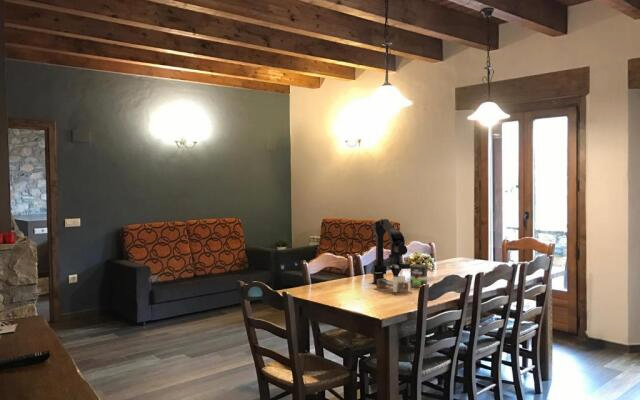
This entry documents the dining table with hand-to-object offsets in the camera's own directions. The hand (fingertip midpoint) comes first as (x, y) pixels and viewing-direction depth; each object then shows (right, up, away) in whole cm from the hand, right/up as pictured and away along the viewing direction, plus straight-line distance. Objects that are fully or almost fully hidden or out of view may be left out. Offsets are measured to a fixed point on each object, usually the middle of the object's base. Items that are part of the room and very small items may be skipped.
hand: (395, 279), depth 315 cm
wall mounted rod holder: (-2, -8, +2) cm, 8 cm away
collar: (+2, -8, -2) cm, 8 cm away
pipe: (-2, -8, +2) cm, 8 cm away
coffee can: (+16, -8, +11) cm, 21 cm away
